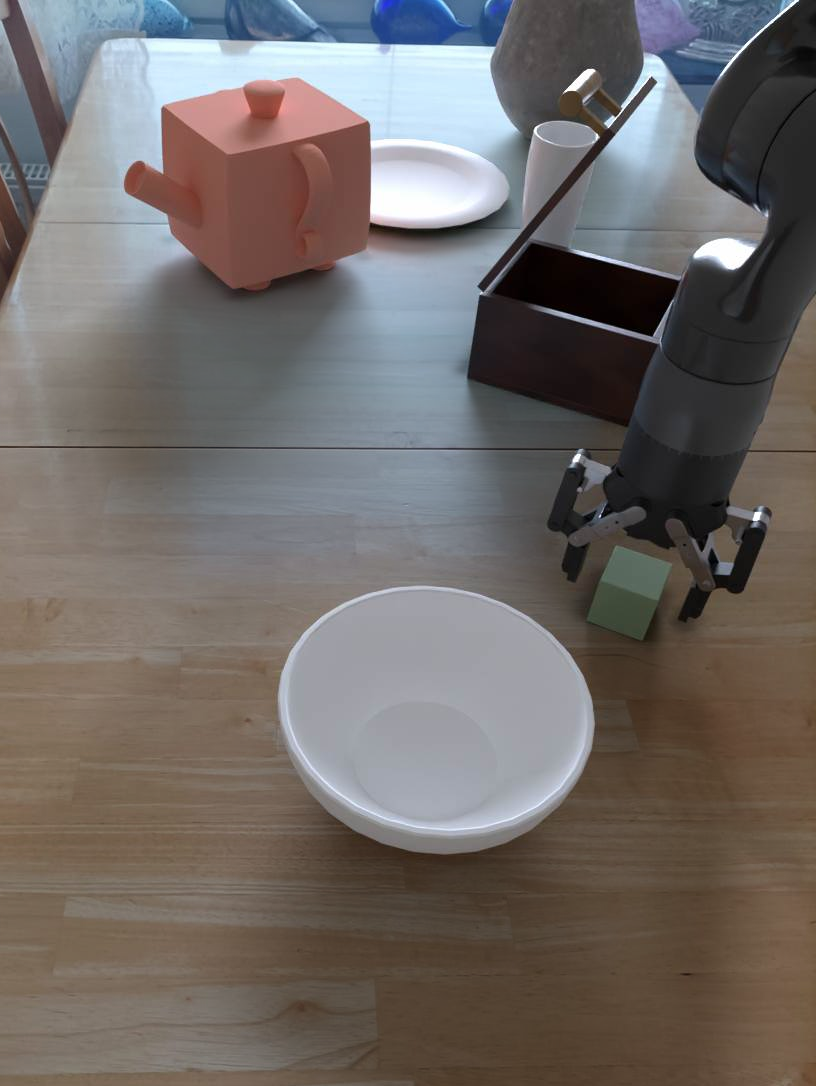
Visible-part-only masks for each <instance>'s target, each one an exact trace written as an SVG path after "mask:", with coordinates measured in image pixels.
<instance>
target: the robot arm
mask: <svg viewBox="0 0 816 1086" xmlns="http://www.w3.org/2000/svg"><path fill="white" fill-rule="evenodd" d="M693 154H694V160H695V163H696V165H697V168H698V169H699V171H700V173H701V174H702V175H703V177H704V178H706V180H708V181H709V182H710V183H711V184H712V185H714V186H716V187H717V188H719V189H720V190H721V191H723V192H725V193H726V194H728V195H730V196H731V197H733V198H735V199H737V200H738V201H739V202H742V203H743V204H745V205H746V206H748V207H750V209H752V210H754V211H756V212H757V213H759V214H760V215H762V216H763V217H765V218H767V221H766V226H765V229H764V233H763V234H762V237H761V239H760V240H759V239H753V238H748V237H737V236H736V237H733V236H732V237H722V238H717V239H714V240H713V239H712V240H711V241H708V242H706V243H704V244H703V245H701V246H700V247H698V248H697V249H696V250H695V251H694V252H693V254H692V255H691V256H690V257H689V259H688V260H687V262H686V264H685V266H684V269H683V271H682V273H681V275H680V276H681V278H680V281H679V283H678V286H677V289H676V292H675V296H674V299H673V302H672V305H671V308H670V311H669V314H668V318H667V321H666V324H665V327H664V330H663V333H662V337H661V339H660V341H659V344H658V347H657V349H656V351H655V353H654V355H653V357H652V359H651V361H650V363H649V365H648V367H647V370H646V373H645V375H644V378H643V382H642V385H641V388H640V391H639V395H638V398H637V401H636V404H635V407H634V410H633V413H632V416H631V420H630V423H629V426H628V427H627V430H626V433H625V436H624V438H623V442H622V445H621V448H620V452H619V455H618V458H617V461H616V462H615V463H613V464H612V466H607V465H605V464H601V463H599V462H596V461H595V460H592V459H593V457H592V456H593V455H592V452H590V451H589V450H588V449H586V448H579V449H577V450H576V451H575V453H574V454H573V456H572V458H571V459H570V461H569V463H568V465H567V467H566V469H565V471H564V473H563V476H562V479H561V481H560V484H559V487H558V489H557V493H556V496H555V499H554V501H553V504H552V508H551V510H550V513H549V516H548V519H547V521H546V527H547V528H548V530H550V531H551V532H553V533H559V532H560V533H561V534H563V535H564V536H565V537H566V538H567V545H566V549H565V551H564V555H563V559H562V562H561V566H560V567H561V571H562V572H563V573H564V574H565V573H566V574H567V576H566V581H568V582H571V583H574V584H576V582H577V580H578V578H579V576H580V574H581V572H582V570H583V568H584V565H585V561H586V559H587V556H588V551H589V548H590V546H591V542H593V541H594V540H596V539H600V540H602V539H605V538H607V537H609V536H611V535H613V534H615V533H617V532H619V531H621V530H622V531H624V532H625V533H626V535H625V536H626V537H629V538H632V539H636V540H640V541H646V542H647V541H648V542H650V543H651V544H653V545H655V546H657V547H658V548H661V549H664V550H667V551H670V549H671V548H676V549H677V550H676V551H677V552H678V554H679V556H680V558H681V561H682V563H683V565H684V567H685V568H686V569H689V570H690V572H691V575H692V577H693V580H692V581H691V585H690V587H689V589H688V591H687V593H686V596H685V598H684V600H683V603H682V605H681V607H680V609H679V610H680V611H679V613H678V616H677V617H676V620H677V621H679V622H681V623H685V624H687V622H688V620H689V618H691V619H694V620H697V619H698V618H700V616H702V613H703V611H704V609H705V606H706V605H707V602H708V600H709V598H710V596H711V594H712V592H713V591H715V590H718V589H726V591H727V592H728V593H730V594H731V595H732V594H733V595H740V594H742V593H743V592H744V591H745V588H746V586H747V584H748V581H749V578H750V576H751V573H752V571H753V570H754V569H753V568H754V566H755V563H756V562H757V558H758V557H759V553H760V551H761V549H762V546H763V544H764V541H765V539H766V536H767V533H768V529H769V526H770V523H771V519H772V517H773V512H772V510H771V509H770V508H769V507H767V506H764V505H759V506H757V507H755V508H754V509H753V510H752V511H750V510H747V509H744V508H740V507H736V506H732V505H731V501H730V493H731V491H732V489H733V486H734V484H735V482H736V481H737V478H738V476H739V473H740V471H741V468H742V466H743V463H744V462H745V460H746V457H747V455H748V452H749V450H750V449H751V446H752V443H753V442H754V439H755V436H756V434H757V431H758V429H759V427H760V426H761V424H762V423H763V421H764V418H765V415H766V411H767V409H768V406H769V404H770V401H771V399H772V395H773V392H774V387H775V384H776V379H777V376H778V373H779V371H780V368H781V366H782V363H783V362H784V359H785V356H786V354H787V352H788V350H789V347H790V345H791V343H792V341H793V338H794V336H795V333H796V332H797V329H798V326H799V324H800V322H801V320H802V316H803V314H804V312H805V311H806V309H807V307H808V306H809V305H810V303H811V301H812V300H813V299H814V297H815V296H816V0H794V1H793V2H792V3H791V4H789V6H787V7H786V8H785V9H784V10H783V11H782V12H780V13H779V14H778V15H777V16H776V17H775V18H773V19H772V20H771V21H770V22H769V23H768V24H767V25H765V26H764V27H763V28H762V29H761V30H759V32H757V33H756V34H755V35H754V36H753V37H752V38H751V39H750V40H749V41H747V43H746V44H745V45H743V47H741V48H740V50H739V51H738V52H737V53H736V54H735V55H734V57H733V58H732V59H731V60H730V61H729V62H728V64H727V65H726V66H725V67H724V69H723V70H722V71H721V72H720V74H719V76H718V77H717V78H716V80H715V81H714V83H713V84H712V87H711V88H710V90H709V91H708V93H707V96H706V98H705V100H704V102H703V104H702V106H701V109H700V112H699V114H698V116H697V121H696V125H695V130H694V134H693ZM594 485H601V488H602V491H603V494H604V496H605V499H604V500H602V501H601V502H600V503H599V505H597V506H595V507H594V508H592V509H590V510H588V511H586V512H584V513H583V514H581V513H579V512H578V511H577V510H574V507H575V504H576V502H577V499H578V495H579V494H582V493H584V492H588V491H590V490H591V488H592V487H593V486H594ZM724 525H725V526H727V527H729V529H730V530H731V539H732V540H733V541H734V543H735V545H737V546H739V547H738V550H737V552H736V555H735V557H734V560H733V562H726V561H725V562H723V561H722V559H721V556H720V555H719V552H718V550H717V547H716V545H715V537H714V533H713V532H715V531H717V530H720V529H721V528H722V527H723V526H724Z"/></svg>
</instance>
